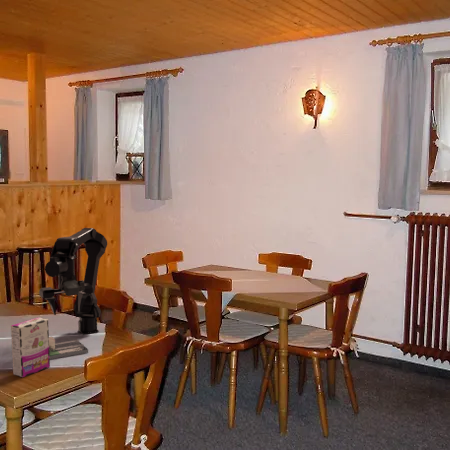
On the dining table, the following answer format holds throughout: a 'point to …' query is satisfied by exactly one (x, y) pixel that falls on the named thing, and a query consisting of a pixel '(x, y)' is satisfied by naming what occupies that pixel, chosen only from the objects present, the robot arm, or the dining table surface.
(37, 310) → the dining table surface
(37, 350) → the candy bar box
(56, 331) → the dining table surface
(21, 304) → the dining table surface
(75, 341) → the bench gauge
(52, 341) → the cube with stick handle
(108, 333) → the dining table surface
